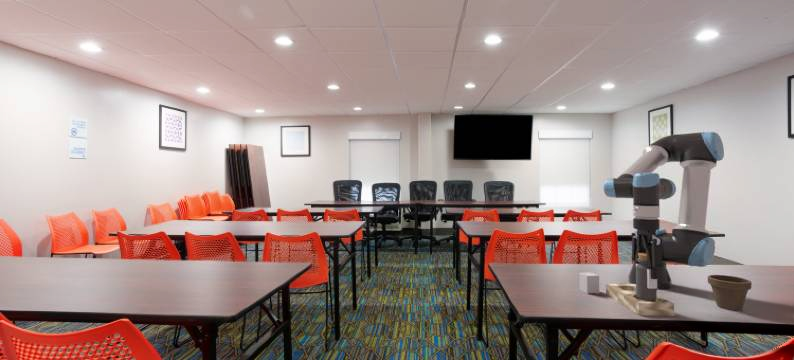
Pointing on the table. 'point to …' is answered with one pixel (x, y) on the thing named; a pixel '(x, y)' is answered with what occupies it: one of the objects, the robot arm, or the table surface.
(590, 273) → the square bit
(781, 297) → the table surface
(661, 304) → the bore block
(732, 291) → the flower pot
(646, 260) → the bottle
